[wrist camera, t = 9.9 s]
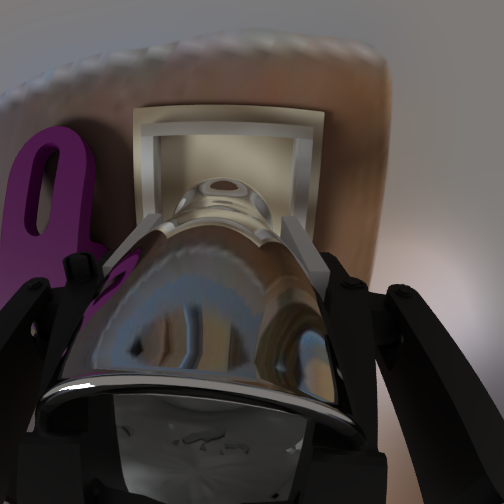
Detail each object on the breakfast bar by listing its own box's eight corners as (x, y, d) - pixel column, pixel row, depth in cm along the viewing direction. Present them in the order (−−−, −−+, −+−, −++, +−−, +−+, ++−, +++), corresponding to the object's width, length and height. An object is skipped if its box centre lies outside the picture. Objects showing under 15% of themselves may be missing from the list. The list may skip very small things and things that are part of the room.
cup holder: (304, 277, 30) (312, 296, 27) (145, 275, 29) (135, 292, 25) (321, 112, 23) (333, 110, 20) (137, 109, 22) (123, 106, 19)
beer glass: (291, 260, 19) (373, 494, 5) (189, 289, 20) (144, 519, 6) (261, 154, 16) (386, 294, 3) (149, 191, 17) (-32, 377, 3)
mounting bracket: (57, 158, 29) (44, 310, 28) (19, 133, 20) (0, 321, 19) (125, 153, 29) (113, 320, 29) (96, 120, 21) (77, 337, 20)
